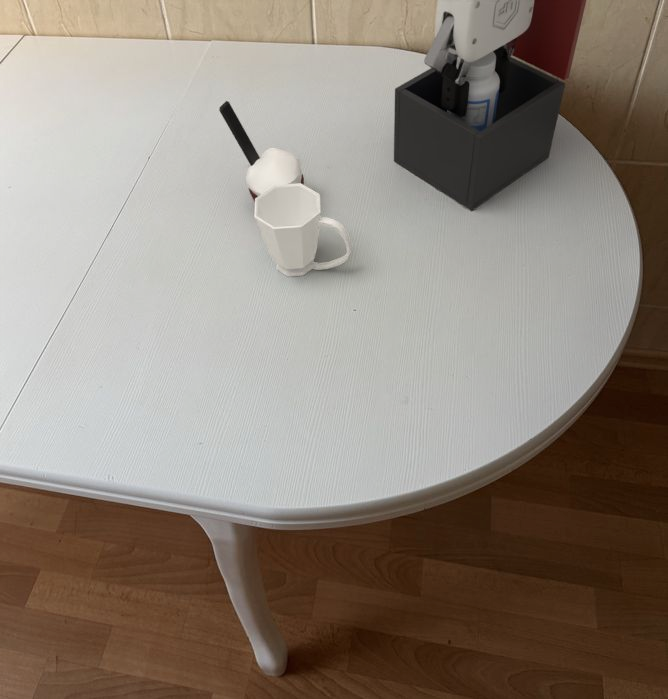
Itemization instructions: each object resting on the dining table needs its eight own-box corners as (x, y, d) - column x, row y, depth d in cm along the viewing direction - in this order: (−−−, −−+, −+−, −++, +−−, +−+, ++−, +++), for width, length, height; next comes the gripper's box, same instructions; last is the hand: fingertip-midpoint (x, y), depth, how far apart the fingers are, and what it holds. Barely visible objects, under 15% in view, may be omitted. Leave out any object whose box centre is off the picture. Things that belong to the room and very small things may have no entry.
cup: (277, 234, 79) (268, 176, 72) (362, 252, 76) (361, 194, 70) (252, 278, 75) (240, 221, 68) (340, 299, 72) (336, 242, 66)
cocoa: (323, 212, 80) (315, 121, 71) (278, 238, 78) (264, 148, 69) (275, 172, 85) (261, 83, 76) (232, 195, 83) (212, 106, 73)
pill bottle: (465, 115, 83) (473, 36, 76) (502, 133, 81) (514, 54, 73) (435, 136, 81) (440, 57, 74) (471, 156, 79) (481, 76, 71)
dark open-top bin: (471, 211, 79) (481, 137, 71) (393, 161, 85) (394, 88, 77) (548, 157, 84) (565, 83, 76) (470, 113, 90) (478, 40, 82)
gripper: (458, -35, 58) (443, 148, 72) (587, -100, 64) (550, 80, 79) (395, -61, 62) (393, 118, 76) (523, -120, 68) (498, 56, 82)
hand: (473, 97), depth 77 cm, fingers closed on pill bottle, 5 cm apart
